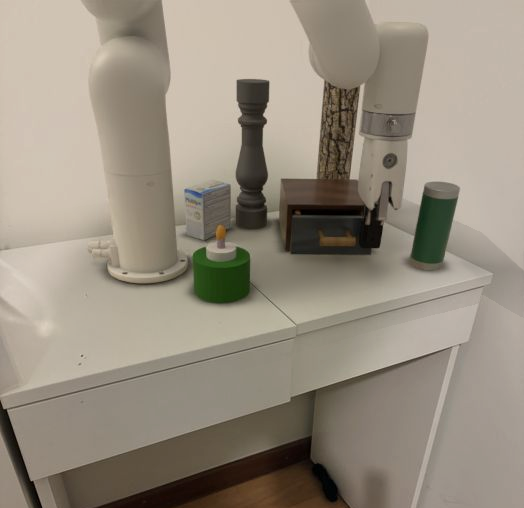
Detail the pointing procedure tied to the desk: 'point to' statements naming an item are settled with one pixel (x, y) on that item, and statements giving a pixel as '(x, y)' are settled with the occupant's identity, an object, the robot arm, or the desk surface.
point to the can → (434, 225)
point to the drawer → (326, 232)
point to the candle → (221, 271)
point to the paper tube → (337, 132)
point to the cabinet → (315, 199)
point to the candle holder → (252, 153)
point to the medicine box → (207, 208)
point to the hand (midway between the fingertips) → (369, 246)
